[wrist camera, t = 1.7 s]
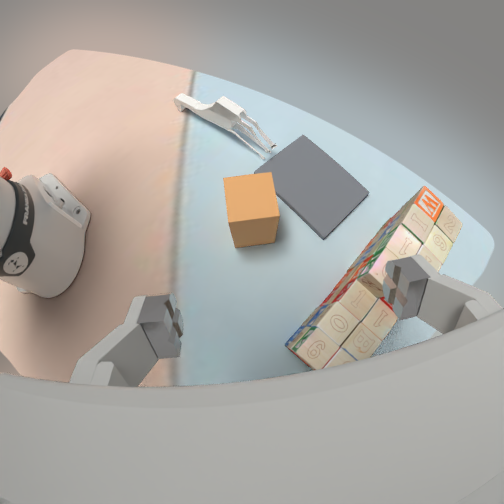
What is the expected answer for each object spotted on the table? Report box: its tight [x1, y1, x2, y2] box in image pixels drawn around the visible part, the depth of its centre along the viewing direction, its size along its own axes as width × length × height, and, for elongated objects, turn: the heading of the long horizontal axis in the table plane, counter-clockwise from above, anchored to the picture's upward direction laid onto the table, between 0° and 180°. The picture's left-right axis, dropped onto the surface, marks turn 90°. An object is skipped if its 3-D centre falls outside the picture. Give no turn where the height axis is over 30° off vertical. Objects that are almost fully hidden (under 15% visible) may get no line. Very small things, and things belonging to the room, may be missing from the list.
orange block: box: [223, 172, 280, 248], centre depth 32 cm, size 5×5×9 cm
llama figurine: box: [173, 93, 277, 159], centre depth 39 cm, size 2×11×18 cm
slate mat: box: [254, 135, 369, 239], centre depth 38 cm, size 13×10×1 cm
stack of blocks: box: [285, 186, 462, 370], centre depth 28 cm, size 21×6×12 cm, turn 137°
